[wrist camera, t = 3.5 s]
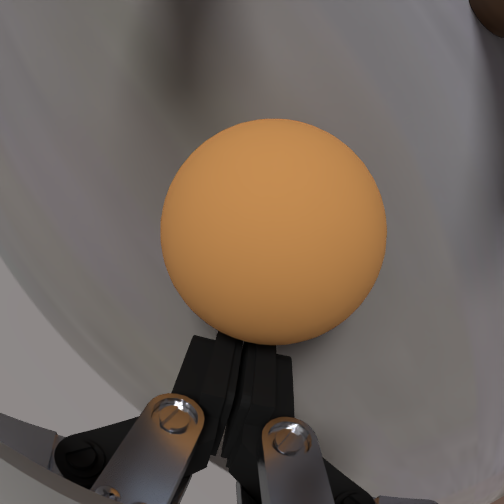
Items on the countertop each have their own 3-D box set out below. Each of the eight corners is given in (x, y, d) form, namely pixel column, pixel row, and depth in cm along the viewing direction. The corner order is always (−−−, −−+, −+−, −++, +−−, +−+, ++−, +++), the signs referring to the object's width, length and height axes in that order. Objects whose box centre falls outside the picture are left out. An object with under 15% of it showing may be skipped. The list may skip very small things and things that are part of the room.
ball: (343, 264, 11) (395, 127, 8) (337, 401, 7) (465, 240, 3) (202, 229, 12) (213, 85, 8) (137, 348, 8) (92, 151, 4)
